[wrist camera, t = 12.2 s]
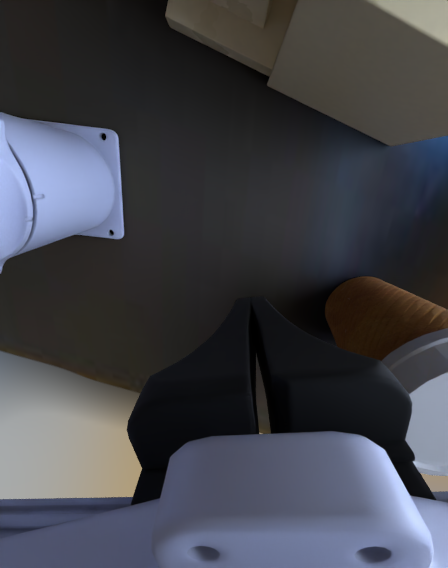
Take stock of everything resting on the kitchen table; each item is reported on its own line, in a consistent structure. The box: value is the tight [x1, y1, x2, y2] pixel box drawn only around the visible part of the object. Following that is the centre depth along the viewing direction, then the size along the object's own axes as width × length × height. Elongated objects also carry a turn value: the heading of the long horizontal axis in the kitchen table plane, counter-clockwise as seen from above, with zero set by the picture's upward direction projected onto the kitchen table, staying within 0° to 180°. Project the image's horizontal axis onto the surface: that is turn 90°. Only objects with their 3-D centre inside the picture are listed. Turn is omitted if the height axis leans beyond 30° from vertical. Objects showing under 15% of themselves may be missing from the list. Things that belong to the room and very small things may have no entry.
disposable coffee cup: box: [325, 277, 448, 476], centre depth 17 cm, size 10×10×12 cm
